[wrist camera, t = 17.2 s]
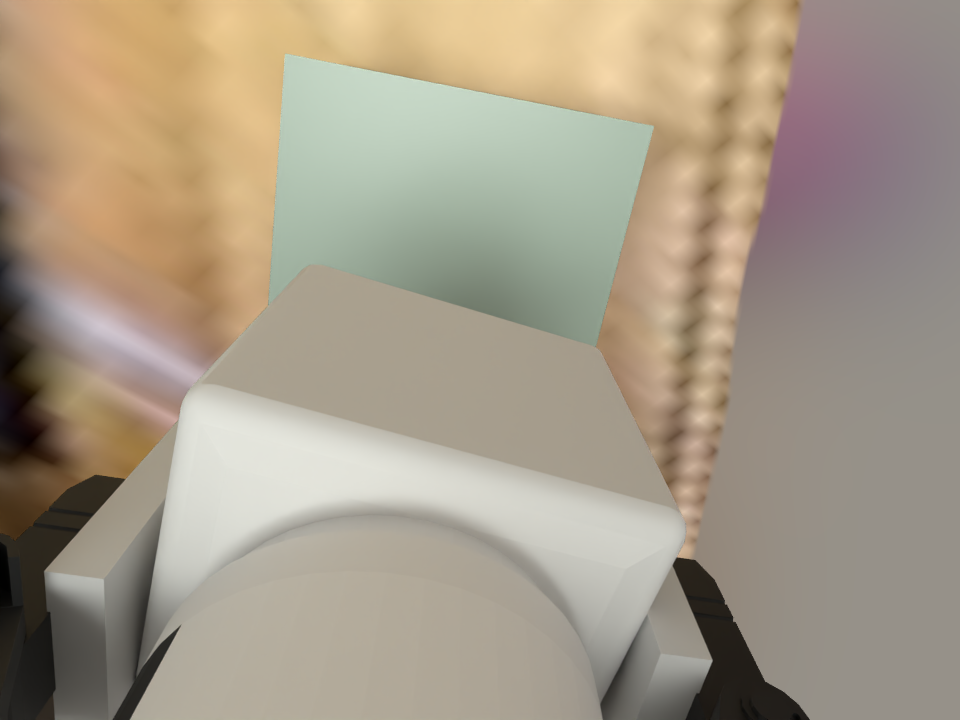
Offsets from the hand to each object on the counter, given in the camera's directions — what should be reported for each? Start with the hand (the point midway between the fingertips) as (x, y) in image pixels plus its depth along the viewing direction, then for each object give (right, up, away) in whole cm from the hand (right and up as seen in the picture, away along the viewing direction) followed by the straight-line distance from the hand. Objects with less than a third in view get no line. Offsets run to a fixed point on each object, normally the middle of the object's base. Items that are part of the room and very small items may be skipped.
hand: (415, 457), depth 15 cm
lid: (0, +5, +13) cm, 14 cm away
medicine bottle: (0, 0, +1) cm, 1 cm away
